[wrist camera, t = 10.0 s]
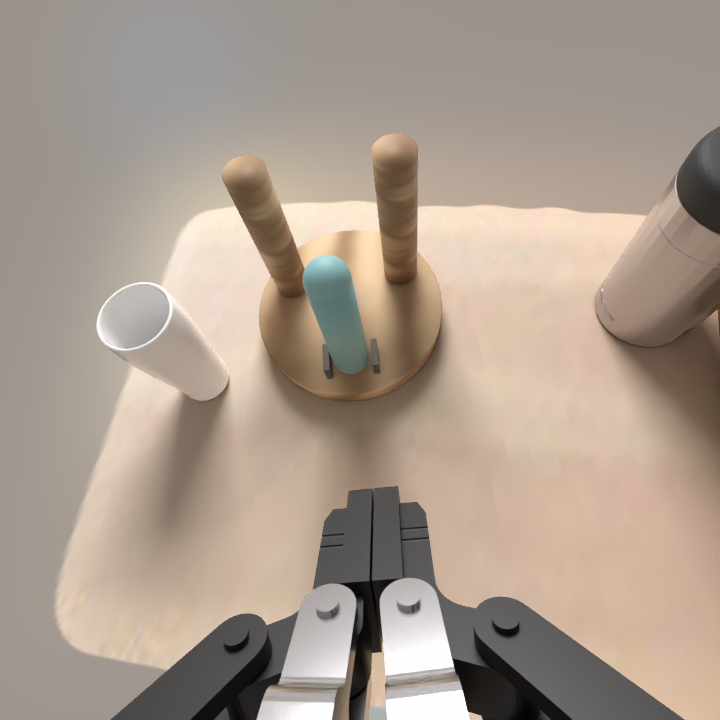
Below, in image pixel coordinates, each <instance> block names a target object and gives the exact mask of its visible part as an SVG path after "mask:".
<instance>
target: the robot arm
mask: <svg viewBox="0 0 720 720" xmlns="http://www.w3.org/2000/svg"><path fill="white" fill-rule="evenodd" d="M719 307H720V127H718V128H716V129H714V130H713V131H711V132H710V133H708V134H707V135H706V136H705V137H704V138H702V139H701V140H700V141H699V142H698V143H697V145H696V146H695V147H694V148H693V150H692V151H691V153H690V154H689V155H688V157H687V158H686V160H685V162H684V163H683V164H682V166H681V167H680V169H679V170H678V172H677V173H676V175H675V176H674V178H673V179H672V181H671V182H670V184H669V185H668V187H667V188H666V190H665V191H664V193H663V194H662V196H661V197H660V199H659V200H658V202H657V203H656V205H655V206H654V208H653V209H652V211H651V212H650V213H649V215H648V216H647V218H646V219H645V221H644V222H643V224H642V225H641V227H640V228H639V230H638V231H637V233H636V234H635V236H634V237H633V239H632V240H631V242H630V243H629V245H628V246H627V248H626V249H625V251H624V252H623V254H622V255H621V257H620V258H619V259H618V261H617V262H616V264H615V265H614V267H613V268H612V270H611V271H610V273H609V274H608V276H607V277H606V279H605V280H604V282H603V284H602V285H601V287H600V288H599V289H598V292H597V294H596V297H595V308H596V313H597V315H598V317H599V320H600V321H601V323H602V324H603V325H604V327H605V328H606V329H607V330H608V331H609V332H610V333H611V334H613V335H614V336H616V337H617V338H619V339H620V340H622V341H625V342H627V343H630V344H633V345H637V346H645V347H653V346H661V345H664V344H667V343H669V342H671V341H673V340H674V339H676V338H677V337H679V336H680V335H681V334H682V333H683V332H684V331H686V330H688V329H694V328H695V327H697V326H698V325H699V324H700V323H701V322H703V321H704V320H705V319H706V318H707V317H709V316H710V315H711V314H712V313H713V312H715V311H716V310H717V309H718V308H719ZM382 641H383V649H384V661H385V672H386V684H385V693H386V706H387V718H388V720H469V716H468V712H472V713H475V714H478V715H481V716H482V719H483V720H684V719H683V718H681V717H680V716H679V715H677V714H676V713H674V712H673V711H672V710H670V709H669V708H668V707H666V706H665V705H663V704H662V703H661V702H659V701H658V700H656V699H655V698H654V697H652V696H651V695H649V694H648V693H647V692H645V691H644V690H643V689H641V688H640V687H638V686H637V685H636V684H634V683H633V682H631V681H630V680H629V679H627V678H626V677H625V676H623V675H622V674H620V673H619V672H618V671H616V670H615V669H613V668H612V667H611V666H609V665H608V664H607V663H605V662H604V661H602V660H601V659H600V658H598V657H597V656H595V655H594V654H593V653H591V652H590V651H589V650H587V649H586V648H584V647H583V646H582V645H580V644H579V643H577V642H576V641H575V640H573V639H572V638H571V637H569V636H568V635H566V634H565V633H564V632H562V631H561V630H559V629H558V628H557V627H555V626H554V625H553V624H551V623H550V622H548V621H547V620H546V619H544V618H543V617H541V616H540V615H539V614H537V613H536V612H534V611H533V610H532V609H530V608H529V607H528V606H526V605H525V604H523V603H522V602H520V601H518V600H515V599H512V598H508V597H493V598H490V599H487V600H485V601H483V602H482V603H480V604H479V606H478V607H477V608H476V609H475V608H470V607H466V606H462V605H458V604H456V603H454V602H452V601H450V600H448V599H447V598H446V597H445V596H443V595H442V593H441V592H440V591H439V589H438V588H437V585H436V583H435V577H434V570H433V563H432V556H431V548H430V541H429V534H428V527H427V519H426V513H425V511H424V510H423V509H422V508H421V506H420V505H419V504H418V503H417V502H410V503H400V497H399V490H398V486H396V487H385V488H374V491H373V489H364V490H354V491H349V494H348V503H347V508H345V509H333V510H332V512H331V513H330V515H329V516H328V517H327V519H326V520H325V522H324V527H323V533H322V539H321V545H320V551H319V557H318V563H317V569H316V575H315V581H314V587H313V590H312V591H311V592H310V593H309V594H308V595H307V596H306V597H305V598H304V600H303V601H302V603H301V606H300V609H299V611H298V612H296V613H295V614H293V615H292V616H290V617H287V618H285V619H282V620H280V621H277V622H274V623H272V624H269V625H266V623H265V622H264V620H263V619H262V618H261V617H259V616H257V615H254V614H240V615H237V616H234V617H232V618H229V619H228V620H226V621H224V622H223V623H222V624H221V625H219V626H218V627H217V628H216V629H215V630H214V631H213V632H211V633H210V634H209V635H208V636H207V637H206V638H204V639H203V640H202V641H201V642H200V643H199V644H198V645H196V646H195V647H194V648H193V649H192V650H191V651H189V652H188V653H187V654H186V655H185V656H184V657H183V658H181V659H180V660H179V661H178V662H177V663H176V664H174V665H173V666H172V667H171V668H170V669H169V670H168V671H166V672H165V673H164V674H163V675H162V676H161V677H159V678H158V679H157V680H156V681H155V682H154V683H153V684H152V685H150V686H149V687H148V688H147V689H146V690H144V691H143V692H142V693H141V694H140V695H139V696H138V697H136V698H135V699H134V700H133V701H132V702H131V703H129V704H128V705H127V706H126V707H125V708H124V709H123V710H121V711H120V712H119V713H118V714H117V715H116V716H114V717H113V718H112V719H111V720H368V719H369V708H370V698H371V684H372V682H371V677H370V675H371V659H372V653H376V652H382ZM467 711H468V712H467Z"/></svg>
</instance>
